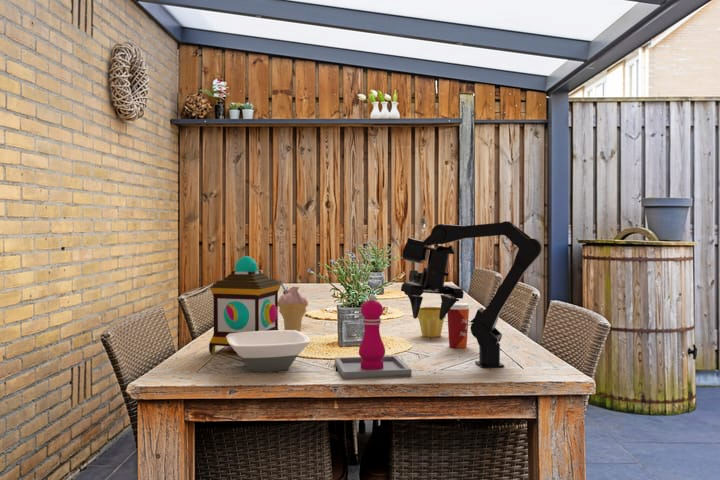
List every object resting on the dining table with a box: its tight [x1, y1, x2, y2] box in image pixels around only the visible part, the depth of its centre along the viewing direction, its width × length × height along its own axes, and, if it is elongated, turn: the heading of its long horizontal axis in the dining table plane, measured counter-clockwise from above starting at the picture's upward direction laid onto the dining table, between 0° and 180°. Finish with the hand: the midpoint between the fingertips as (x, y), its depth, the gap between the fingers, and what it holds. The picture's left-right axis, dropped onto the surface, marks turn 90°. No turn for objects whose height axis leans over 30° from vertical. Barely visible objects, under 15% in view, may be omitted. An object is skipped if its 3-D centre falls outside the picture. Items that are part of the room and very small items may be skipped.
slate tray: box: [334, 355, 413, 380], centre depth 174 cm, size 18×18×2 cm
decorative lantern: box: [208, 255, 282, 355], centre depth 200 cm, size 20×20×30 cm
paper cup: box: [446, 302, 471, 349], centre depth 207 cm, size 8×8×14 cm
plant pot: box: [416, 306, 447, 338], centre depth 227 cm, size 10×10×10 cm
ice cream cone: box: [278, 280, 309, 332], centre depth 226 cm, size 11×11×20 cm
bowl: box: [226, 329, 311, 373], centre depth 177 cm, size 22×23×8 cm
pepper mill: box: [358, 294, 386, 370], centre depth 173 cm, size 7×7×20 cm
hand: (427, 319), depth 186 cm, fingers open, 9 cm apart
